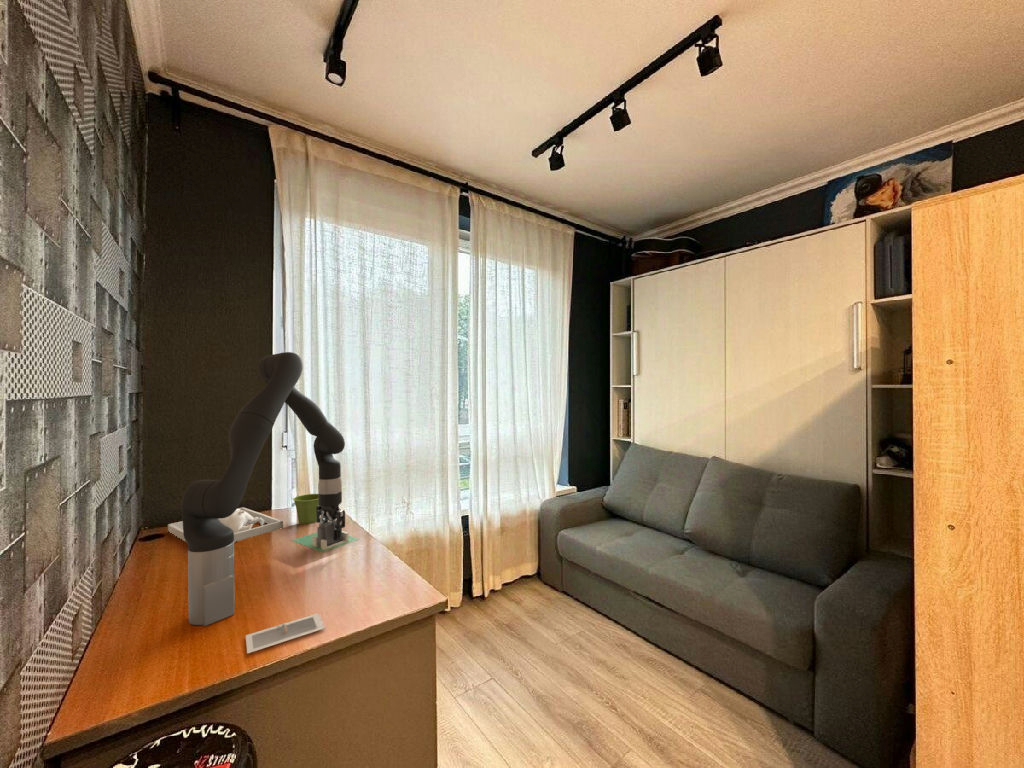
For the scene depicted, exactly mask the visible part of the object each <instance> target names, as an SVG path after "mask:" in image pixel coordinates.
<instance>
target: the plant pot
mask: <svg viewBox="0 0 1024 768" xmlns="http://www.w3.org/2000/svg"><path fill="white" fill-rule="evenodd" d="M292 500H293V501H294V506H295V508H296V514H297V518H298V524H300V525H309V524H313V523H317V517H316V507H317V506H319V504H318V493H309V494H308V493H307V494H302V495H298V496H294V497H293V499H292Z"/></svg>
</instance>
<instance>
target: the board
mask: <svg viewBox="0 0 1024 768" xmlns="http://www.w3.org/2000/svg"><path fill="white" fill-rule="evenodd" d="M349 534H350V533H349V532H346V531H344V530H342V541H341V542H338V543H335V544H333V545H330V546H327V540H324V539H322V540H321V546H319V545H318V534H317V531H316V532H313V533H310V534H308V535H304V536H301V537H297V538H295V539H291V542H295V543H297V544H299V545H303V546H305V547H308V548H310V549H312V550H314V551H317V552H320V553H322V554H323V553H325V552H328V551H331V550H333V549H337V548H339V547H342V546H345V545H347V544H350V543H353V542H355V541H358V540H360V538H358V537H354V536H351V535H349Z"/></svg>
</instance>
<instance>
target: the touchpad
mask: <svg viewBox="0 0 1024 768" xmlns="http://www.w3.org/2000/svg"><path fill="white" fill-rule="evenodd" d="M324 629H326V627H325V624H324V622H323V619H322V617H321V615H320V613H314V614H311V615H308V616H305V617H301V618H298V619H294V620H292V621H288V622H285V623H281V624H279V625H278V624H277V625H274V626H271V627H268V628H265V629H262V630H259V631H256V632H253V633H252V632H251V633H248V634H245V642H246V643H245V644H246V653H247V654H250V653H254V652H257V651H260V650H263V649H265V648H269V647H271V646H275V645H278V644H281V643H284V642H286V641H290V640H294V639H296V638H300V637H302V636H305V635H308V634H312V633H314V632H317V631H321V630H324Z"/></svg>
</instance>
